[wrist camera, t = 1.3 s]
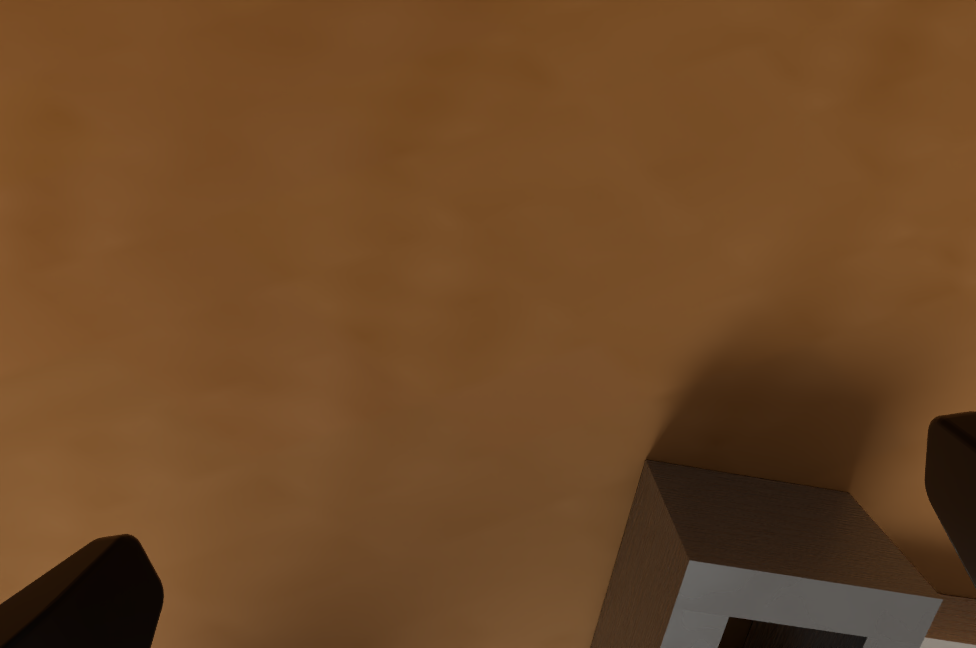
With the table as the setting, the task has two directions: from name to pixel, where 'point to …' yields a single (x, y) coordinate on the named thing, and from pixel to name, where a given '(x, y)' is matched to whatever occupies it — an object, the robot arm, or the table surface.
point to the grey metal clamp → (766, 571)
